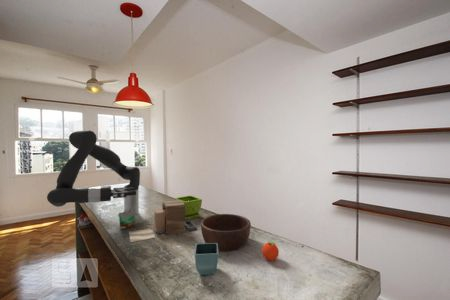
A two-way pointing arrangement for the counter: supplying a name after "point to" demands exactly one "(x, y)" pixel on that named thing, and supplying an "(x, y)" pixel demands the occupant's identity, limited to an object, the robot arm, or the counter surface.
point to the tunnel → (174, 216)
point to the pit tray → (190, 225)
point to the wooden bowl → (226, 231)
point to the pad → (141, 235)
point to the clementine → (270, 251)
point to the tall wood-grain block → (160, 221)
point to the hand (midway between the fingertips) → (135, 191)
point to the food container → (127, 219)
